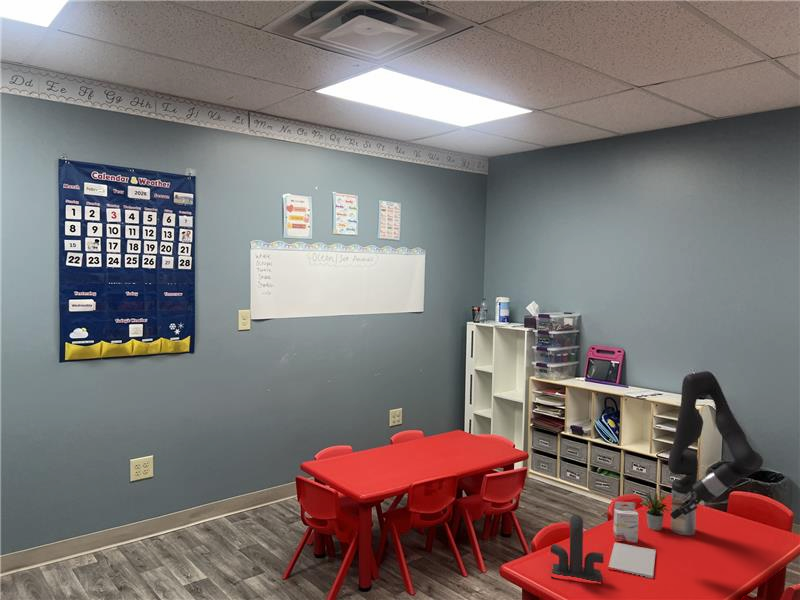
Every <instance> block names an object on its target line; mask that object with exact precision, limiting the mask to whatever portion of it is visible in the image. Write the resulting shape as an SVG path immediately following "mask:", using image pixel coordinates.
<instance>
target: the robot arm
mask: <svg viewBox="0 0 800 600" xmlns="http://www.w3.org/2000/svg"><path fill="white" fill-rule="evenodd" d="M681 384H682V385H681V400H680V407H679V413H678V417H677V421H676V426H675V434H674V439H673V443H672V446H671V449H670V452H669V455H668V460H667V467H668V470H669V471H670V473H672V474H673V475H679V476H682V475H683V476H684V477H682V478H680V479H677V480H674V481H672V483H671V499H672V498H678V499H682V500H685V501H683V502H682V505H681V506H680V507H679V508H678V509H676V510H675V511H674V512H672V513H671V512H670V518H671V517H672V518H673V519H676V518H678V517H679V516H680V515H682V514H684V515H685V531H681V530H675V529H671V528H670V530H671V531H672V532H673V533H676V534H678V535H680V536H681V535H682V536H693V535H695V534H696V518H697V515H696V514H697V512H696V511H697V509H698V506H699V505H700V502H704V503H706V504H710V503H711V502H713V501H714V500H715V499H716V498H718V497H720V496H721V495H722V494H723V493H725V492H726V491H727V490H728V489H729V488H730V487H732V486H733V485H735V484H736V483H737V482H739V481H740V480H742V479H745V478H747V477H749V476H751V475H753V474H754V473H756V472H758V471H759V470H760V469H761V468H762V466H763V463H764V459H763V457H762V455H761V454H759V453H758V452H757V451H755V450H754V449H753V448H752V446H751V445H750V443H749V441H748V440H747V436H746V434H745V432H744V430H743V428H742V427H741V425H740V424H739V423H738V421H737V419H736V418H735V416H734V414H733V412H732V410H731V408H730V406H729V403H728V401H727V399H726V396H725V394H724V391H723V390H722V387H721V386H720V383H719V382H718V380H717V378H716V376H715V375H714V374H713V373H712V372H710V371H708V370H707V371H706V370H704V371H699V372H694V373H689V374H687V375H685V376H684V378H683V380H682V383H681ZM704 397H710V398H711V399H712V401H713V403H714V408H715V418H714V419H715V421H714V422H715V426H716V428H717V430H718V432H719V434H720V435H721V437H722V439H723V440H724V442H725V443H726V444H727V448H728V449H729V452H730V454H731V456H732V458H733V460H732V461H731V462H728V463H727V462H725V463H722V464H721V465H719V466H718V467H717V468H716V469H714V470H713V471H711V472H710V473H706V475H704V476H702V478H700V479H699V480H698V474H699V473H698V471H699V460H698V457H697V455H696V453H694V452H685V451H686V450H687V449H688V448H690V447H691V446H692V445H693V444H695V443H696V442H697V441H698V440H699V439H700V438H701V436H702V432H703V426H704V420H703V416H702V415H701V412H699V410H698V409H697V407H696V405H697V400H698V399H699V398H704ZM670 502H671V505H672V501H670ZM684 508H685V510H684Z"/></svg>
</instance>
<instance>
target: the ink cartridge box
mask: <svg viewBox="0 0 800 600" xmlns="http://www.w3.org/2000/svg"><path fill="white" fill-rule="evenodd" d="M625 505H626V506H625ZM612 531H613V535H614V536H613V535H612V536H613V538H614V537H615V538H614V540H615V539H616V540H622V541H632V542H631V543H638V539H639V538H638V537H639V513H638V512H637V510H636V502H632V501H631V502H629V501H628V502H627V501H615V502H614V509H613V530H612ZM616 540H615V541H616ZM622 541H621V542H622Z"/></svg>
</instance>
